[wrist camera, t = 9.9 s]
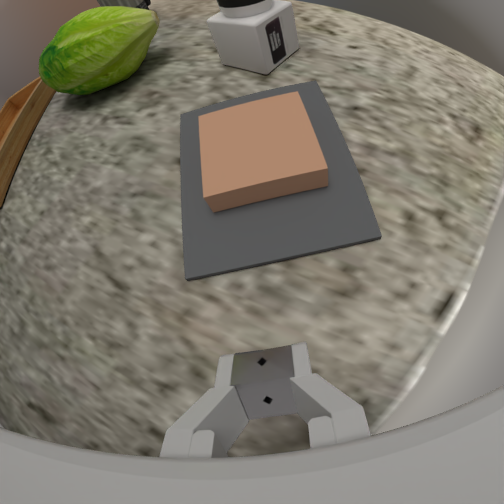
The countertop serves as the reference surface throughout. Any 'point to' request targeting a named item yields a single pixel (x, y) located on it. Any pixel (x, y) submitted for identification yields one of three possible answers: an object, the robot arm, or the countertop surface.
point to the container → (254, 33)
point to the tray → (20, 126)
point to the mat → (273, 202)
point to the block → (259, 152)
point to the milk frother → (126, 3)
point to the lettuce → (97, 49)
